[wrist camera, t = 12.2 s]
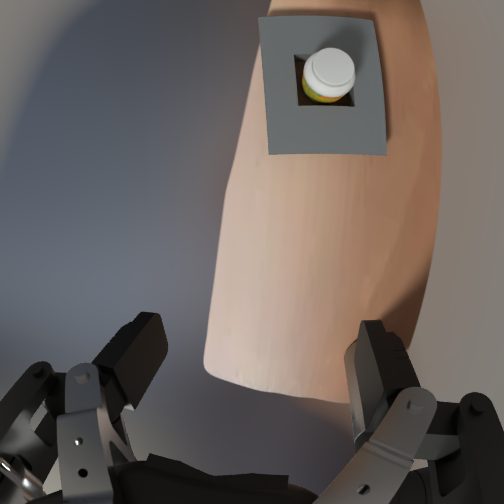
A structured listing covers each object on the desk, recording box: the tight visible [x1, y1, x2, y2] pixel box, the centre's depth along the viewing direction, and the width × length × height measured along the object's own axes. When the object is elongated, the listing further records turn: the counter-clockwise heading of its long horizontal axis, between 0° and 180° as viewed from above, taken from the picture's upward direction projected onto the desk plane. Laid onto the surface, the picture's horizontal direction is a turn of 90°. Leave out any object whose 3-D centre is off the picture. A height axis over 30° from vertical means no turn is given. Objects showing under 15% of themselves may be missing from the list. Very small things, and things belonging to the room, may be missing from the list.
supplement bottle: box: [302, 48, 356, 104], centre depth 25 cm, size 5×5×10 cm
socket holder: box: [258, 15, 386, 156], centre depth 28 cm, size 18×14×3 cm
